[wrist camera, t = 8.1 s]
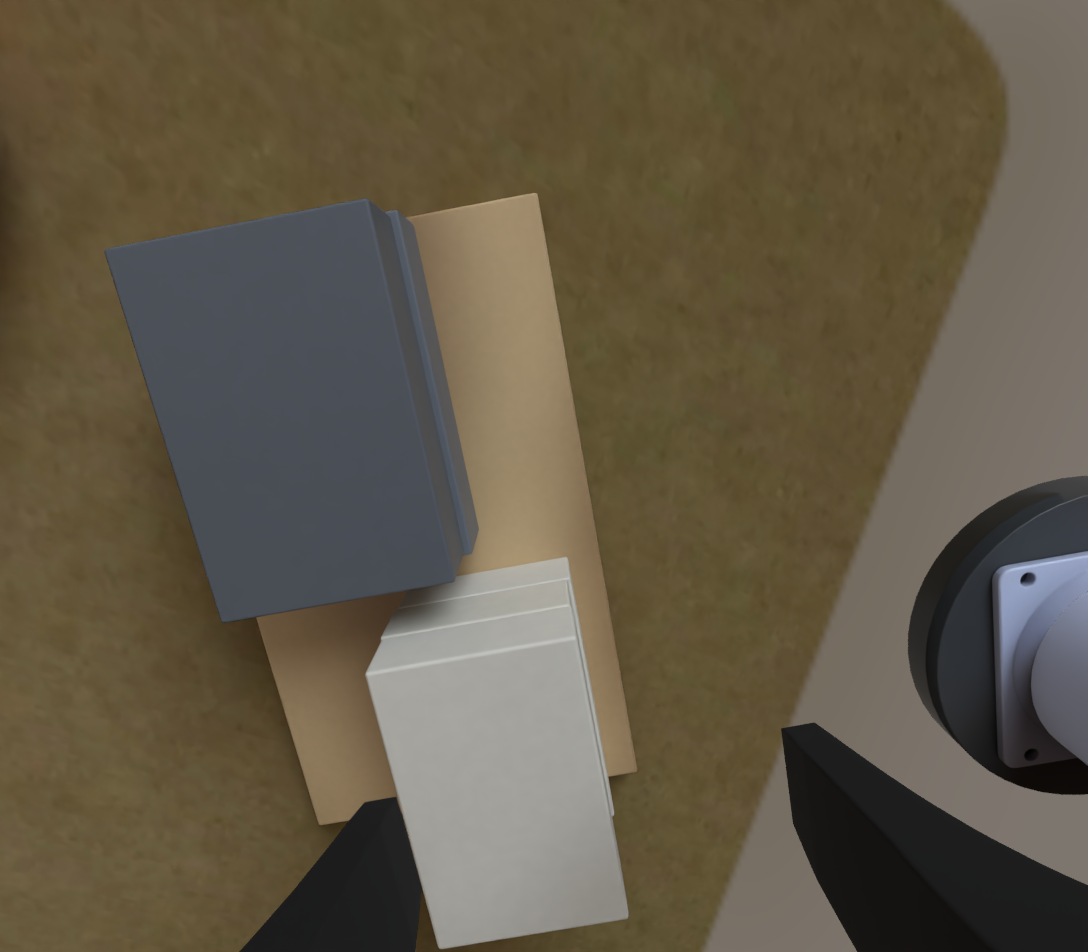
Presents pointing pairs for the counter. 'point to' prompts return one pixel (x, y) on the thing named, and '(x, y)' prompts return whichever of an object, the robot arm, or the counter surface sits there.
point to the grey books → (302, 405)
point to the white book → (499, 776)
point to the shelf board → (497, 491)
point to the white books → (494, 607)
